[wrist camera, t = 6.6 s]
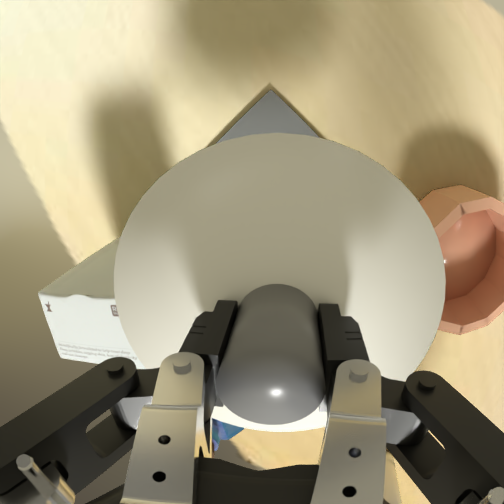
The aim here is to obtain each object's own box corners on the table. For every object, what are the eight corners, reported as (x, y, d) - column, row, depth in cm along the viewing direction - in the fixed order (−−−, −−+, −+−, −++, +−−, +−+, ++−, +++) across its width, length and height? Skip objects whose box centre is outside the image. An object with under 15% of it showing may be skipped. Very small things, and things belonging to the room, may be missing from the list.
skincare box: (131, 282, 35) (57, 361, 21) (121, 230, 33) (31, 292, 19) (202, 283, 34) (149, 377, 20) (195, 227, 32) (127, 298, 18)
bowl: (433, 324, 32) (452, 355, 27) (371, 244, 30) (388, 268, 24) (511, 251, 28) (540, 272, 22) (462, 160, 26) (494, 167, 20)
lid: (273, 437, 18) (265, 516, 12) (86, 287, 15) (17, 347, 10) (474, 298, 13) (534, 368, 8) (279, 63, 11) (269, 6, 5)
